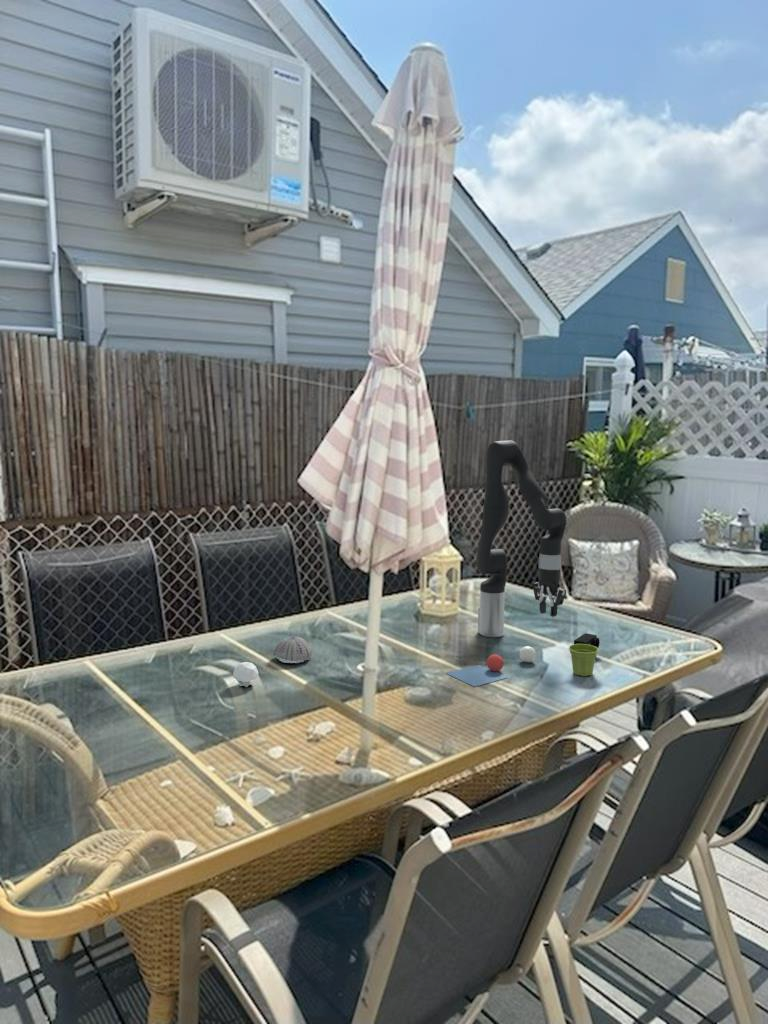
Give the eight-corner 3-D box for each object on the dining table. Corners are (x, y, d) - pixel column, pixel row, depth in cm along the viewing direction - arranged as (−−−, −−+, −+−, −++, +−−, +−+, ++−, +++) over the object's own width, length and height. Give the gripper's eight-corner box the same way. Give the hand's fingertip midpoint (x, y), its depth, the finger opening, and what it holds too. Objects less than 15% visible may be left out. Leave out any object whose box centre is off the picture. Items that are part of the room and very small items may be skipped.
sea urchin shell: (315, 654, 254) (315, 632, 253) (308, 667, 241) (307, 644, 240) (279, 652, 256) (278, 631, 254) (269, 666, 242) (268, 643, 241)
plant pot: (564, 675, 233) (565, 650, 231) (571, 666, 241) (572, 642, 240) (594, 680, 228) (595, 654, 227) (600, 671, 237) (601, 646, 235)
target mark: (446, 673, 235) (446, 673, 235) (478, 665, 242) (478, 664, 242) (474, 687, 223) (474, 686, 223) (507, 677, 231) (507, 677, 231)
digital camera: (588, 662, 245) (589, 643, 244) (573, 659, 248) (573, 640, 247) (599, 654, 253) (600, 635, 252) (584, 651, 256) (585, 632, 255)
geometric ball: (250, 696, 223) (252, 682, 218) (227, 685, 224) (228, 671, 219) (261, 677, 229) (263, 663, 223) (239, 667, 230) (241, 653, 224)
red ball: (483, 670, 238) (483, 654, 237) (495, 666, 241) (495, 651, 240) (494, 675, 233) (494, 658, 233) (506, 671, 236) (507, 655, 236)
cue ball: (515, 661, 246) (516, 645, 245) (527, 658, 249) (527, 642, 248) (527, 665, 242) (527, 650, 241) (539, 662, 245) (539, 647, 244)
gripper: (526, 564, 250) (525, 611, 252) (557, 571, 238) (556, 621, 241) (542, 561, 254) (540, 608, 257) (573, 568, 242) (571, 617, 245)
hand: (548, 614), depth 249 cm, fingers open, 4 cm apart
